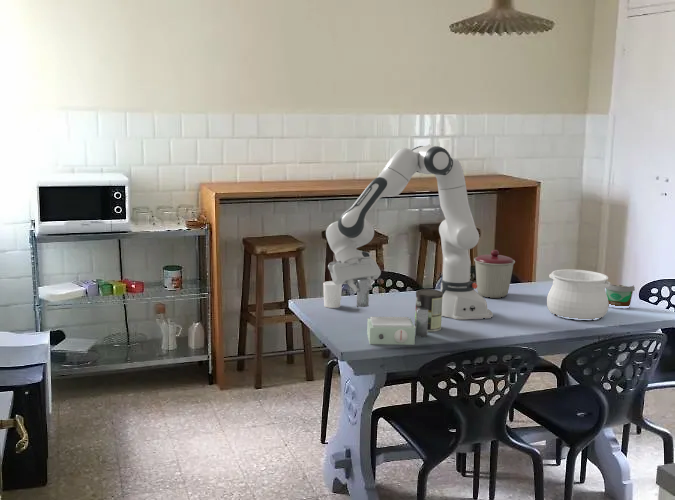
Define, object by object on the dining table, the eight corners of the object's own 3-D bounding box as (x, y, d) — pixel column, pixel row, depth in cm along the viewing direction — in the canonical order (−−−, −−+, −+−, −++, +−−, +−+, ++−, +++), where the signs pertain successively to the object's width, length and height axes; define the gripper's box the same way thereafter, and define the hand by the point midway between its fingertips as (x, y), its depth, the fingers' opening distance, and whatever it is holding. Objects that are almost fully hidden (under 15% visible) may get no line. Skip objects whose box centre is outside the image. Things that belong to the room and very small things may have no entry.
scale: (409, 334, 290) (410, 316, 289) (414, 345, 276) (415, 327, 275) (367, 333, 290) (367, 315, 288) (369, 345, 276) (370, 326, 275)
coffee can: (417, 331, 293) (418, 295, 291) (412, 324, 303) (413, 289, 301) (444, 331, 294) (445, 295, 292) (438, 324, 304) (440, 289, 302)
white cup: (339, 309, 324) (340, 285, 322) (321, 307, 325) (321, 284, 323) (343, 304, 331) (343, 281, 329) (325, 303, 333) (325, 280, 331)
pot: (618, 315, 323) (622, 275, 320) (592, 326, 305) (596, 284, 302) (561, 304, 340) (564, 266, 337) (533, 314, 322) (536, 274, 319)
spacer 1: (368, 304, 295) (368, 278, 293) (368, 307, 290) (369, 280, 288) (356, 304, 294) (356, 278, 293) (357, 307, 290) (357, 280, 288)
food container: (602, 307, 335) (604, 285, 333) (603, 304, 340) (604, 282, 339) (632, 311, 330) (634, 288, 328) (633, 307, 336) (635, 285, 334)
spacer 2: (426, 333, 291) (427, 307, 289) (427, 337, 287) (429, 310, 285) (414, 333, 291) (415, 307, 289) (416, 337, 287) (417, 310, 285)
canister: (516, 301, 343) (519, 254, 339) (475, 300, 343) (478, 253, 340) (508, 291, 361) (511, 246, 357) (469, 290, 361) (471, 245, 357)
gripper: (329, 258, 289) (344, 289, 283) (374, 252, 300) (389, 282, 294) (323, 267, 293) (337, 298, 287) (367, 261, 305) (381, 291, 298)
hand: (363, 290), depth 291 cm, fingers closed on spacer 1, 4 cm apart
